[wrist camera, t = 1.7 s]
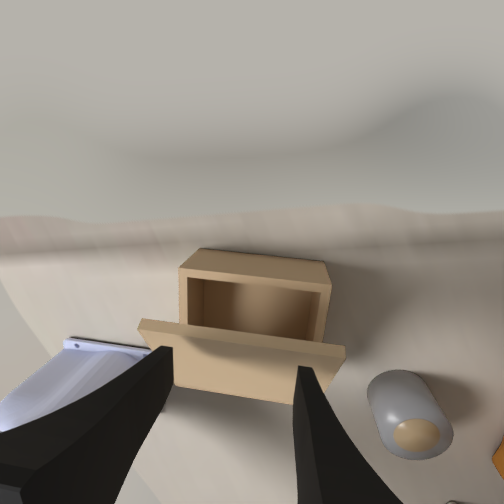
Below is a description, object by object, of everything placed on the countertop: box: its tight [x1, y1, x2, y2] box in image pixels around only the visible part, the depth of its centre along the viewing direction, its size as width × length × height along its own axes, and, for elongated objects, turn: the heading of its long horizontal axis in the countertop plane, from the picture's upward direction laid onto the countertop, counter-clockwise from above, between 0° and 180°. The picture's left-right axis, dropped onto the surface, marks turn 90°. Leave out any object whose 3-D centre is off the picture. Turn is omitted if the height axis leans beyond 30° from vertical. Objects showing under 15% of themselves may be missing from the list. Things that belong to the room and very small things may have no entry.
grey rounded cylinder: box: [367, 370, 454, 460], centre depth 22 cm, size 5×5×4 cm
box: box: [178, 248, 332, 343], centre depth 21 cm, size 10×9×4 cm
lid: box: [137, 318, 346, 405], centre depth 17 cm, size 10×9×1 cm
